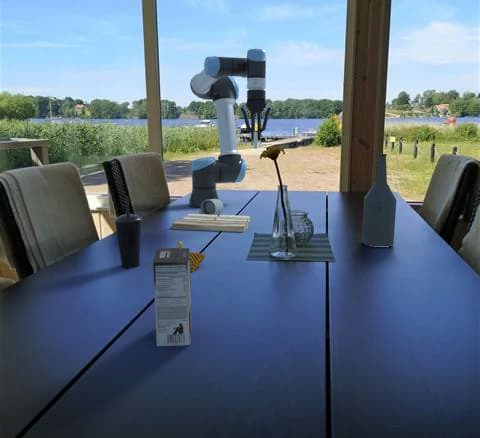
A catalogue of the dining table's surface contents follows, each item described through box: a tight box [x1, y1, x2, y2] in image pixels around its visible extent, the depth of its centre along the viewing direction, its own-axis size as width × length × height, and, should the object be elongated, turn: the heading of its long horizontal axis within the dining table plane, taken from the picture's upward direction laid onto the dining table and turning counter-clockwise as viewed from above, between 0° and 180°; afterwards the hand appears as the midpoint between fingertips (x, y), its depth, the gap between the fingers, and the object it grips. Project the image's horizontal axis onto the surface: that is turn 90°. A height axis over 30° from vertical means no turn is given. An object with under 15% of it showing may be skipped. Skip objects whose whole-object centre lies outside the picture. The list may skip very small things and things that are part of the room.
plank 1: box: [182, 213, 219, 220], centre depth 185 cm, size 9×12×2 cm
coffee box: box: [152, 247, 192, 347], centre depth 85 cm, size 9×6×16 cm
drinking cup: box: [113, 195, 143, 269], centre depth 127 cm, size 8×8×20 cm
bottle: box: [361, 153, 397, 246], centre depth 148 cm, size 10×10×30 cm
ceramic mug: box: [198, 198, 224, 216], centre depth 199 cm, size 11×8×8 cm
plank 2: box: [216, 214, 251, 224], centre depth 183 cm, size 9×12×2 cm
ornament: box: [176, 240, 206, 273], centre depth 129 cm, size 7×10×15 cm
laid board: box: [171, 218, 249, 233], centre depth 175 cm, size 9×28×2 cm, turn 79°
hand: (256, 148), depth 188 cm, fingers closed
